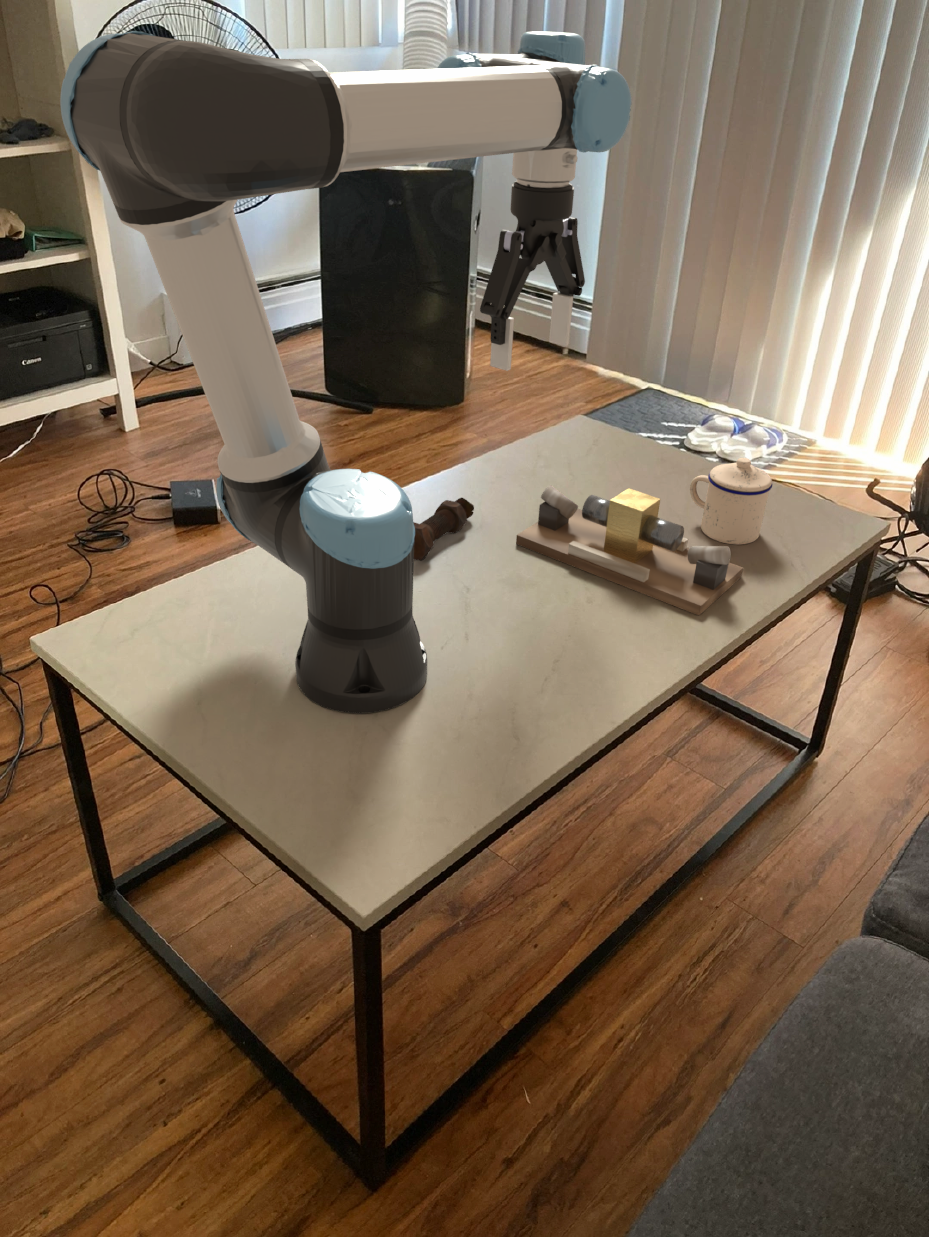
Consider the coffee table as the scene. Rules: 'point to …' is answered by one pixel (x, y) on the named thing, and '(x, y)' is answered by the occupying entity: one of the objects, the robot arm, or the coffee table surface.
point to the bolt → (440, 525)
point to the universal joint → (632, 524)
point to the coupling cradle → (659, 574)
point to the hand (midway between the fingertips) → (530, 355)
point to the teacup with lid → (733, 501)
